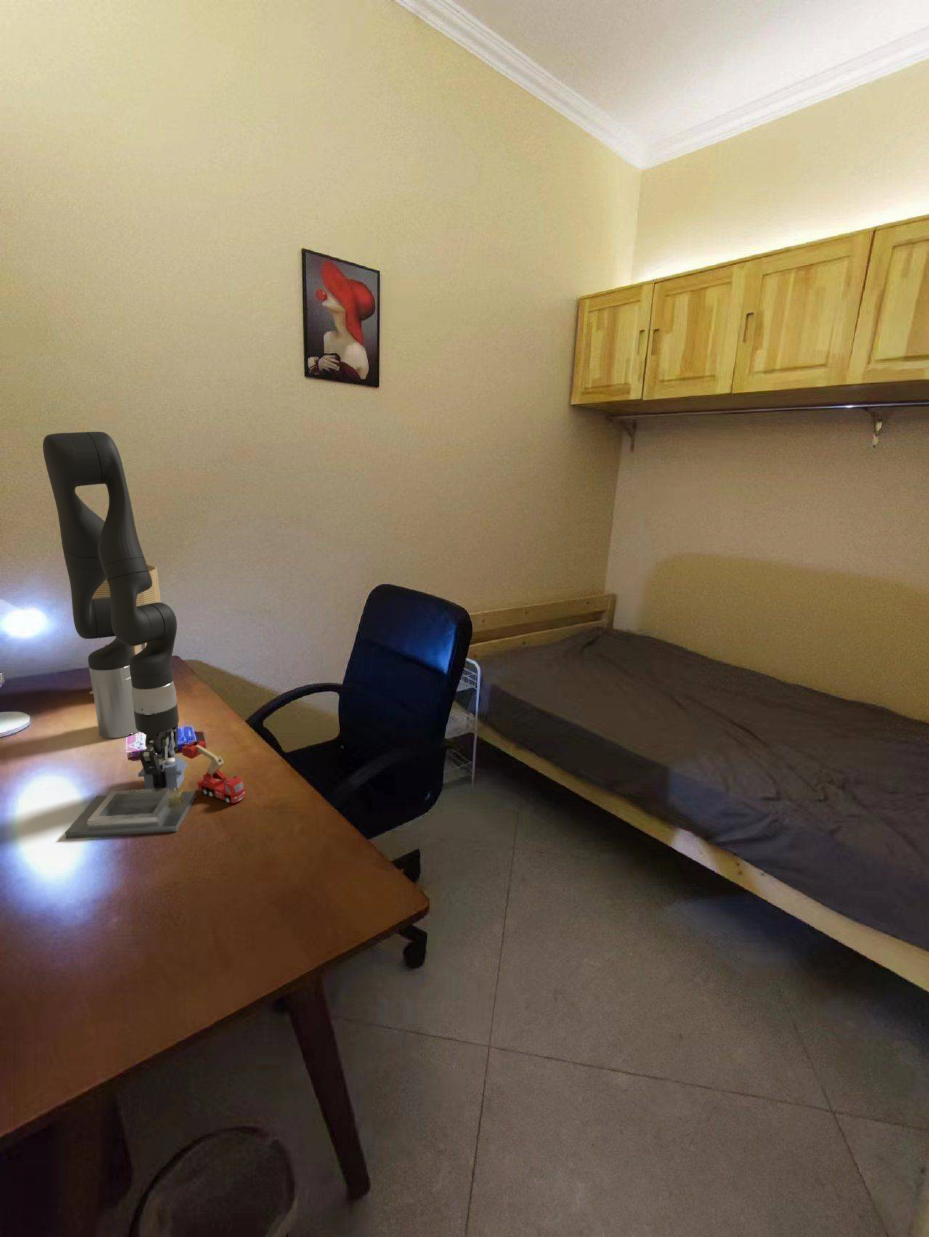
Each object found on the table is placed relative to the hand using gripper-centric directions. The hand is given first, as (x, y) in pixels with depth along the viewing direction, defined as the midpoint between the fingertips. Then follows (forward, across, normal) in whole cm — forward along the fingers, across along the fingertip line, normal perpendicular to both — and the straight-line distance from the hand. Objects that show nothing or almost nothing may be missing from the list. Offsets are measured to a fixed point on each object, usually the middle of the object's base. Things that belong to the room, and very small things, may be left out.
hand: (164, 780), depth 111 cm
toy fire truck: (+1, +4, +11) cm, 12 cm away
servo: (+1, 0, 0) cm, 1 cm away
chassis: (+1, +10, -2) cm, 11 cm away
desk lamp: (+1, -52, -27) cm, 59 cm away
